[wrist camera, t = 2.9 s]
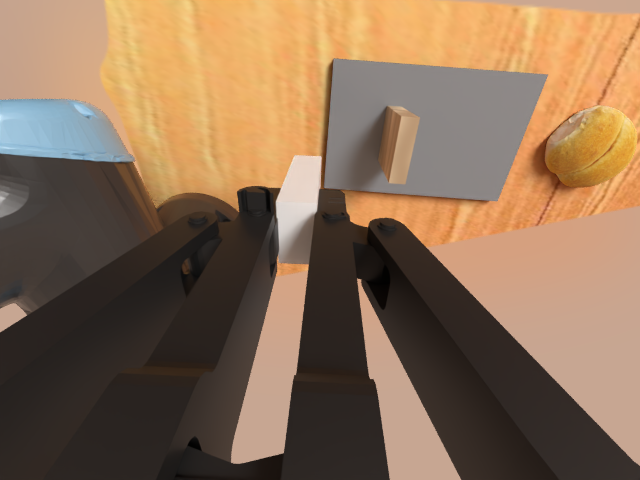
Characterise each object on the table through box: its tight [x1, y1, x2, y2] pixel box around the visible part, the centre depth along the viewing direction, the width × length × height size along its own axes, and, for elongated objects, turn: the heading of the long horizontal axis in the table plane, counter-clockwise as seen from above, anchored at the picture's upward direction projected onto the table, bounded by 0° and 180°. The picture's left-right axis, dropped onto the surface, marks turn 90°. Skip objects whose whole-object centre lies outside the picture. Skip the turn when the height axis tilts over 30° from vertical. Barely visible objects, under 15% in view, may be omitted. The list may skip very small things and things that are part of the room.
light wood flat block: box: [378, 106, 420, 184], centre depth 30 cm, size 2×6×8 cm, turn 177°
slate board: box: [324, 59, 548, 201], centre depth 34 cm, size 22×14×1 cm, turn 86°
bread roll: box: [545, 105, 637, 188], centre depth 33 cm, size 8×9×4 cm
